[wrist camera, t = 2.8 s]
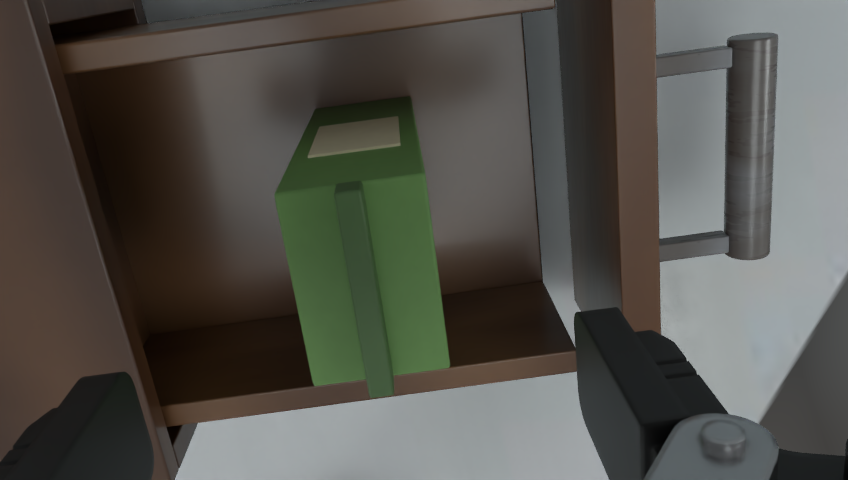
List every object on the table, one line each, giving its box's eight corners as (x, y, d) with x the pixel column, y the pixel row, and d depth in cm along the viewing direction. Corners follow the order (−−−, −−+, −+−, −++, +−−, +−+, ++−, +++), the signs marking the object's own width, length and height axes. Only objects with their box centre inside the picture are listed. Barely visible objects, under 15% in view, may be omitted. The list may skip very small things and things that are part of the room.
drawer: (711, -79, 26) (820, -92, 19) (708, 282, 30) (795, 368, 24) (48, 11, 26) (-65, 28, 19) (149, 358, 30) (86, 465, 24)
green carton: (313, 106, 26) (266, 201, 16) (410, 93, 26) (426, 179, 16) (338, 242, 28) (310, 408, 18) (428, 230, 28) (453, 388, 18)
